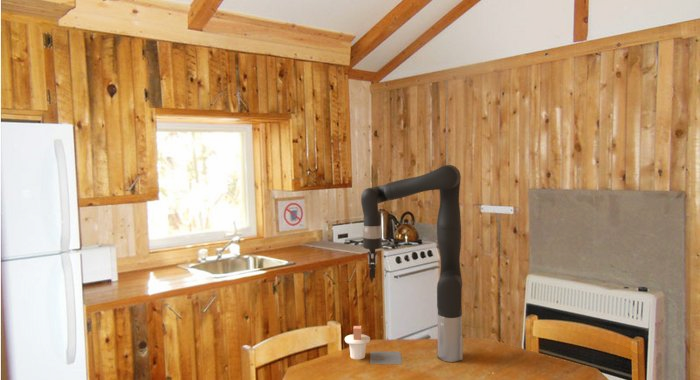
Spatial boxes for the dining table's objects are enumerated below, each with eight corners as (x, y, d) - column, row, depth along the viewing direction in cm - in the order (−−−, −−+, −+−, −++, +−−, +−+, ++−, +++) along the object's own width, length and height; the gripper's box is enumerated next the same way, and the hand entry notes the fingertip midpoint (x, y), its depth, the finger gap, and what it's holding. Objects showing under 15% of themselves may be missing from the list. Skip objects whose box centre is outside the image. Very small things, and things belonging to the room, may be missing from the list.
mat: (400, 352, 203) (400, 351, 203) (402, 365, 191) (402, 364, 191) (370, 352, 203) (370, 351, 203) (370, 365, 191) (370, 363, 191)
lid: (370, 335, 203) (370, 323, 202) (370, 345, 193) (369, 331, 192) (345, 335, 203) (345, 322, 203) (343, 345, 193) (343, 331, 193)
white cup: (366, 361, 195) (366, 343, 195) (348, 361, 195) (348, 343, 195) (366, 354, 202) (366, 337, 201) (349, 354, 202) (349, 337, 202)
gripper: (381, 239, 199) (381, 279, 200) (381, 233, 213) (381, 271, 214) (362, 239, 199) (363, 279, 200) (363, 233, 213) (363, 271, 214)
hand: (372, 275), depth 207 cm, fingers open, 8 cm apart
